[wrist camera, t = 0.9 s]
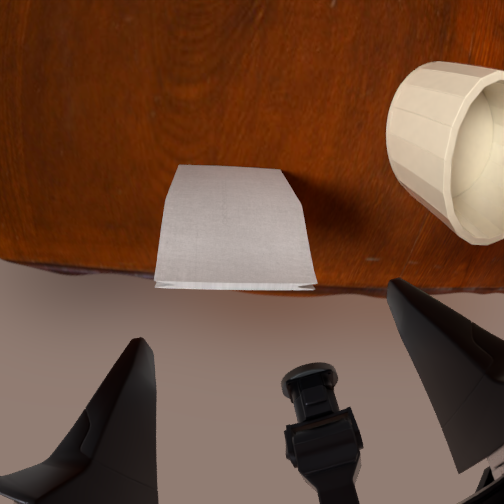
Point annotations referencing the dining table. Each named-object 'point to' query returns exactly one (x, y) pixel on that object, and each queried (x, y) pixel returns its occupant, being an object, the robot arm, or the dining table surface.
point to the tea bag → (233, 232)
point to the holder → (452, 145)
